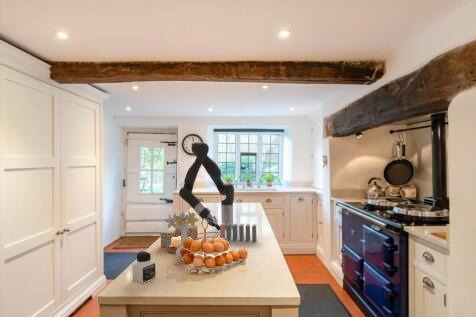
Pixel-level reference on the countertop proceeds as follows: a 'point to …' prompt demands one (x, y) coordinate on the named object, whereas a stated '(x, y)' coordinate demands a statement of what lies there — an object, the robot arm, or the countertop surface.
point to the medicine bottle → (144, 267)
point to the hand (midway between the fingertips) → (220, 229)
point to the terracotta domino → (222, 230)
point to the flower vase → (182, 226)
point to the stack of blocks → (168, 234)
